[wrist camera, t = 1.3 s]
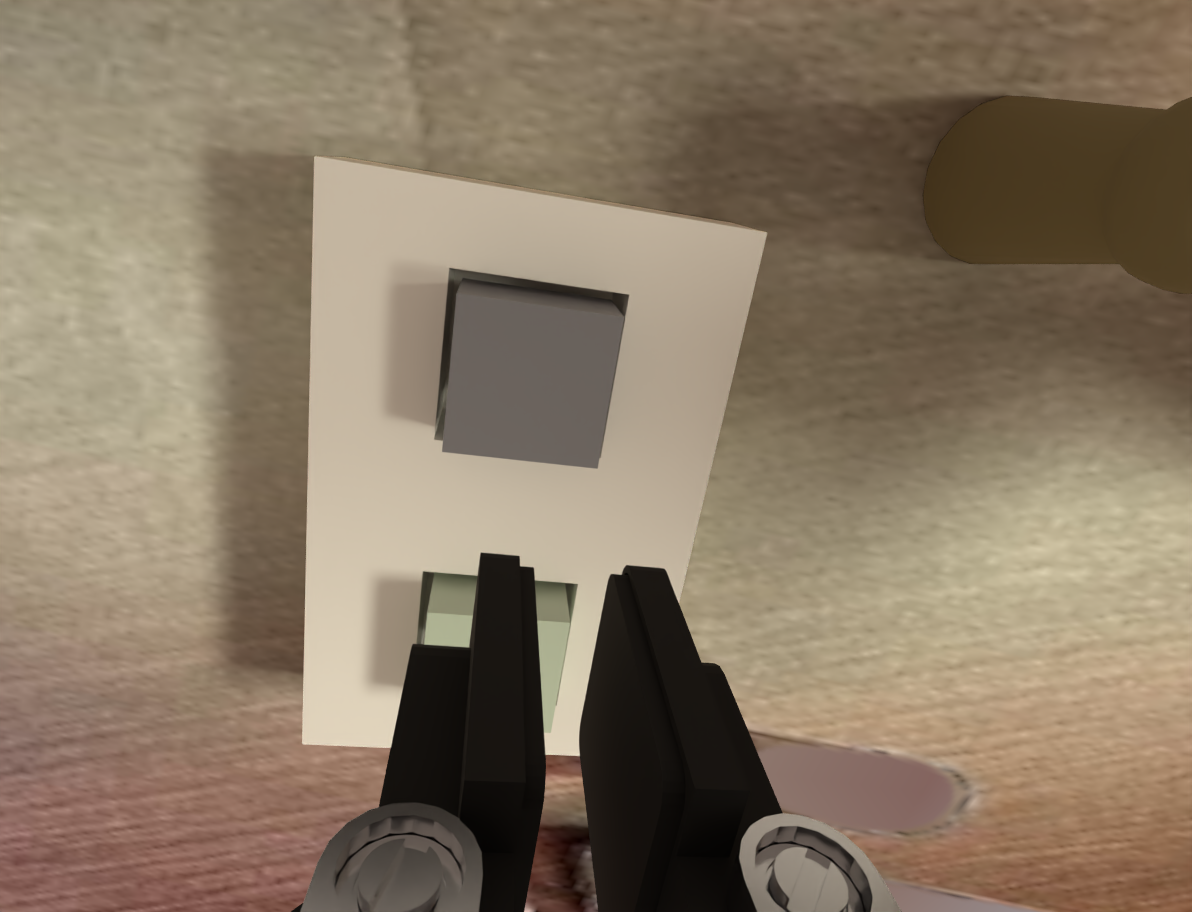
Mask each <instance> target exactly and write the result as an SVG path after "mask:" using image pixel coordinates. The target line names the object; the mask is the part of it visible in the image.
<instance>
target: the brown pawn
mask: <svg viewBox="0 0 1192 912" xmlns="http://www.w3.org/2000/svg"><path fill="white" fill-rule="evenodd" d="M923 200H924V210H925V219H926V222H927V224H928V226H929V229H930V231H931V233H932V235H933V237H934V239H935V241H936V242H937V243H938V244H939V245H940V246H941V247H942V248H943V249H944V250H945V251H946V252H947V253H948V254H949V255H950V256H952V257H955V258H957V259H960V260H962V261H965V262H967V263H970V264H1120V265H1121V266H1122V267H1123V268H1124V269H1125V270H1126V271H1127V272H1128V273H1129V274H1131V275H1133V276H1134V277H1136V278H1138V279H1139V280H1141V281H1143V282H1146V283H1148V284H1151V285H1153V286H1155V287H1158V288H1160V289H1163V290H1167V291H1171V292H1176V293H1181V294H1192V97H1190V98H1188V99H1185V100H1183V101H1180V102H1178V103H1176V104H1175V105H1173V106H1172V107H1170V108H1169V109H1167V110H1163V109H1153V108H1143V107H1132V106H1122V105H1111V104H1101V103H1090V102H1080V101H1069V100H1059V99H1048V98H1038V97H1023V96H1004V97H1001V98H998V99H995V100H992V101H989V102H986V103H983V104H980V105H979V106H978V107H976V108H975V109H973V110H972V111H971V112H969V113H968V114H966V115H965V116H963V117H962V118H961V119H959V120H958V121H957V122H956V124H955V125H954V126H953V127H952V128H951V130H950V131H949V132H948V133H947V134H946V136H945V137H944V138H943V139H942V140H941V142H940V143H939V145H938V148H937V150H936V152H935V154H934V156H933V158H932V160H931V163H930V165H929V167H928V170H927V175H926V181H925V186H924V192H923Z"/></svg>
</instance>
